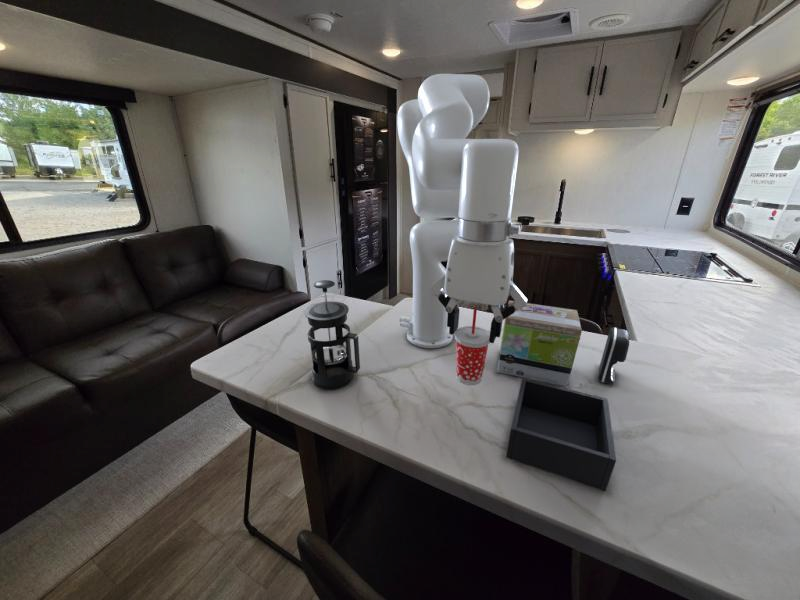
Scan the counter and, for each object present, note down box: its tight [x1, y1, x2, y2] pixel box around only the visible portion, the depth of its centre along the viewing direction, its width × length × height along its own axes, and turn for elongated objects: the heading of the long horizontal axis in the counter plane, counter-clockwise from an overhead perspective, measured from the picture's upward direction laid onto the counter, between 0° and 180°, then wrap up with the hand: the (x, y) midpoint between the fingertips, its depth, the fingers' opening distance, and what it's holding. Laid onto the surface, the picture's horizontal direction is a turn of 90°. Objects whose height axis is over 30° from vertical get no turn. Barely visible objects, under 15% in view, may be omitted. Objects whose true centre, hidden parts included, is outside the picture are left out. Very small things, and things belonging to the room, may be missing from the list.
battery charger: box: [597, 327, 630, 385], centre depth 74 cm, size 7×4×11 cm, turn 149°
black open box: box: [505, 377, 617, 492], centre depth 59 cm, size 15×15×6 cm
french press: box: [304, 279, 361, 391], centre depth 72 cm, size 12×9×23 cm
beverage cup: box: [454, 306, 491, 386], centre depth 59 cm, size 6×6×14 cm
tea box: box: [497, 300, 583, 388], centre depth 77 cm, size 15×10×15 cm
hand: (472, 334), depth 58 cm, fingers closed on beverage cup, 6 cm apart
